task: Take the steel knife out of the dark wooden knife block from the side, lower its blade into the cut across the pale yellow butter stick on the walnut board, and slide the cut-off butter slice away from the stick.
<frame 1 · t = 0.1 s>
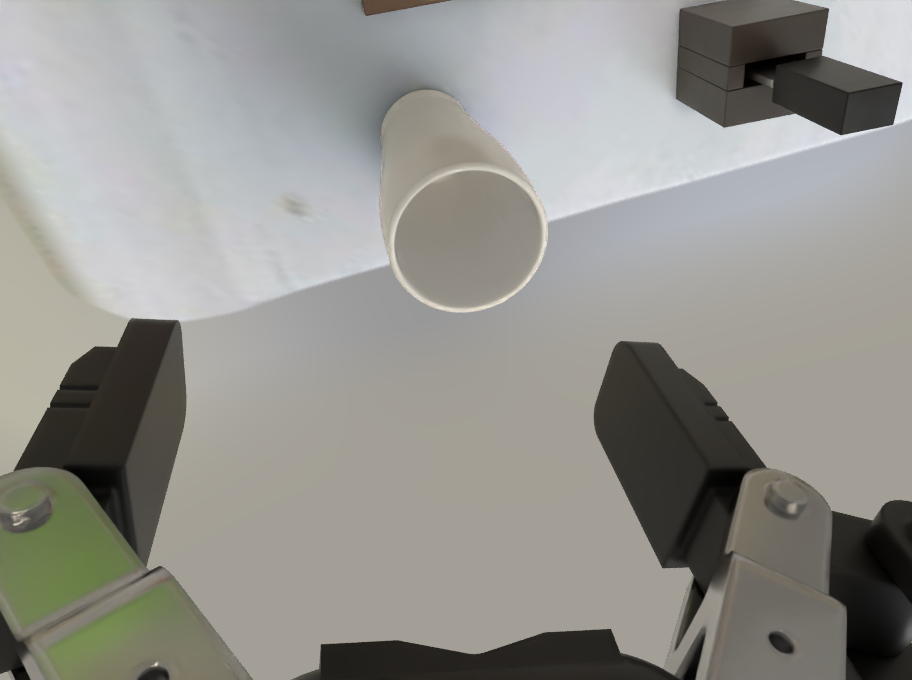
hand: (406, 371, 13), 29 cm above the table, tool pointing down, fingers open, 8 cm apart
knife block: (719, 47, 40), on the table
white tall tumbler: (425, 133, 40), on the table
knife: (719, 47, 40), resting in knife block
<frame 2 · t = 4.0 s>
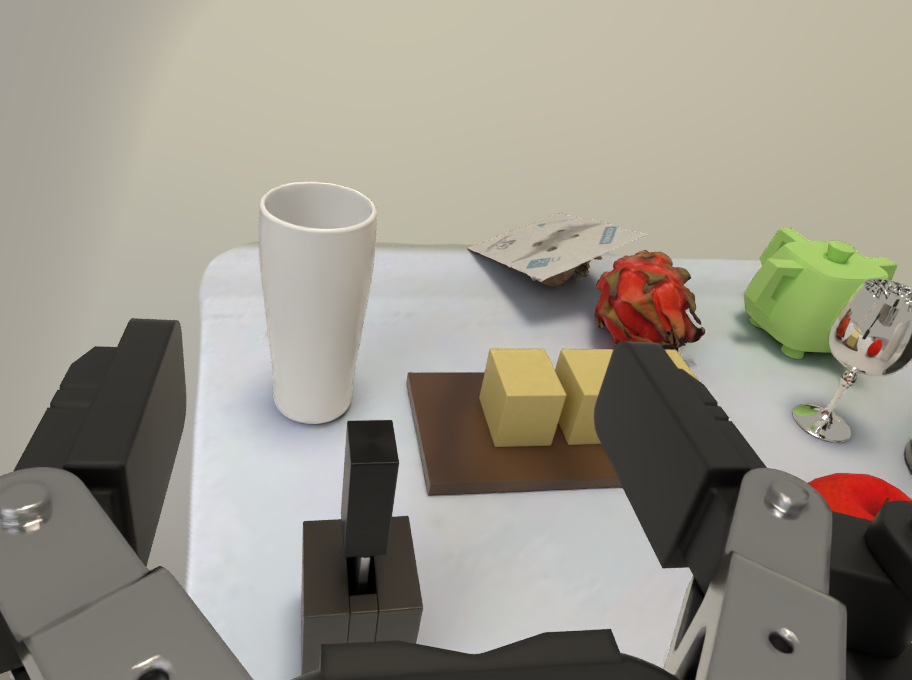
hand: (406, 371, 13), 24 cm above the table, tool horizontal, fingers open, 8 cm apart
knife block: (352, 637, 34), on the table
butter board: (553, 430, 49), on the table
white tall tumbler: (313, 404, 47), on the table
butter block: (615, 419, 49), point 1 cm above the table, touching butter board
teapot: (795, 338, 65), on the table
butter slice: (513, 421, 47), point 1 cm above the table, touching butter board
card: (573, 288, 66), on the table
knife: (352, 637, 34), resting in knife block
wineglass: (820, 424, 54), on the table
apple: (826, 585, 41), on the table
dragon fruit: (634, 343, 60), on the table
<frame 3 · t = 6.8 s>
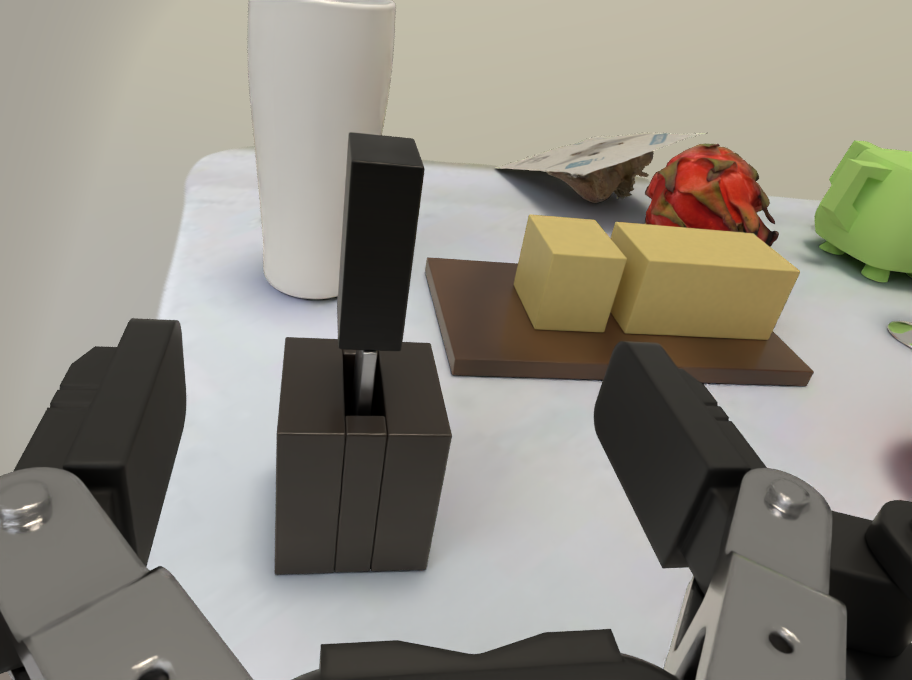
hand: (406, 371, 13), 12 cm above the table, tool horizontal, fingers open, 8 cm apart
knife block: (350, 515, 25), on the table
butter board: (604, 325, 40), on the table
white tall tumbler: (311, 283, 39), on the table
butter block: (679, 314, 40), point 1 cm above the table, touching butter board
teapot: (875, 266, 56), on the table
butter slice: (556, 308, 38), point 1 cm above the table, touching butter board
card: (616, 207, 58), on the table
knife: (350, 515, 25), resting in knife block
dragon fruit: (691, 256, 51), on the table
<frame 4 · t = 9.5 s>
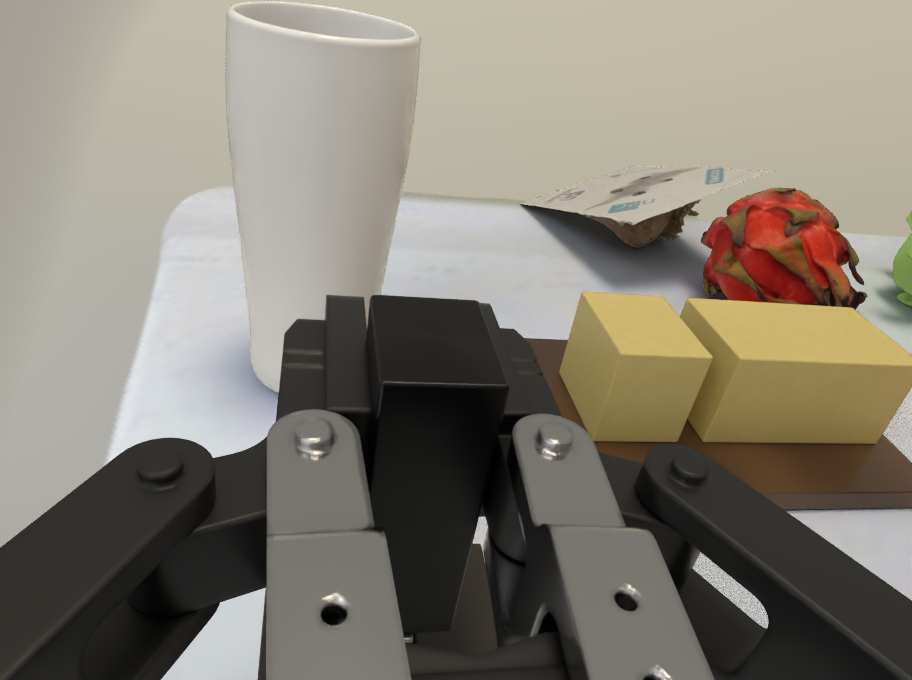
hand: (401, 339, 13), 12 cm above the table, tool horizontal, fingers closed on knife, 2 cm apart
butter board: (671, 423, 32), on the table
white tall tumbler: (310, 373, 31), on the table
butter block: (763, 409, 33), point 1 cm above the table, touching butter board
butter slice: (614, 405, 31), point 1 cm above the table, touching butter board
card: (662, 252, 50), on the table
dragon fruit: (757, 317, 43), on the table
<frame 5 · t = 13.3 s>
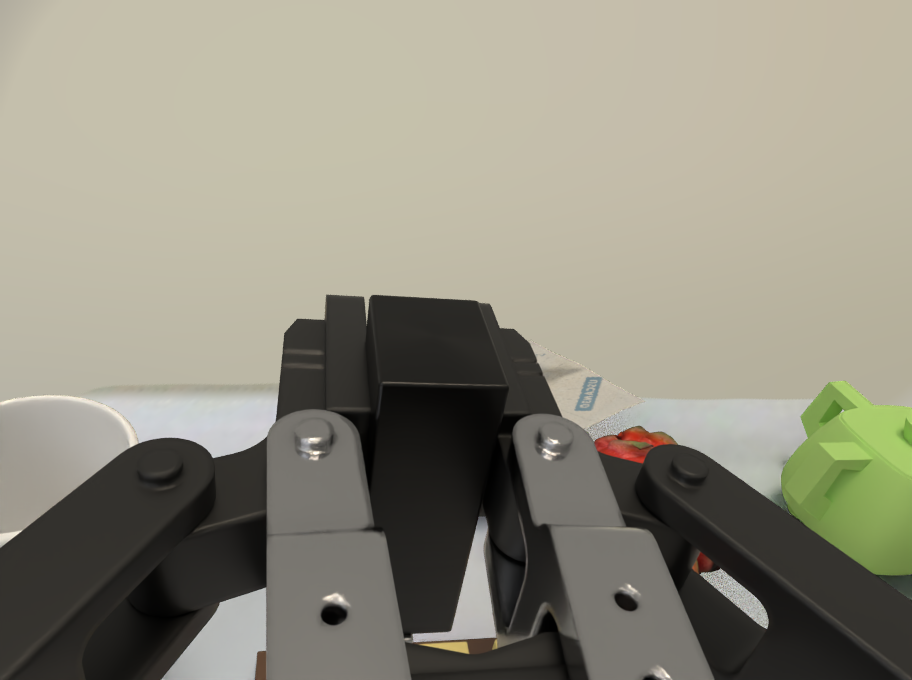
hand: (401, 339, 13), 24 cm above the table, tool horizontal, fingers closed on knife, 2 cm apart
teapot: (854, 538, 46), on the table
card: (543, 457, 48), on the table
dragon fruit: (624, 560, 41), on the table
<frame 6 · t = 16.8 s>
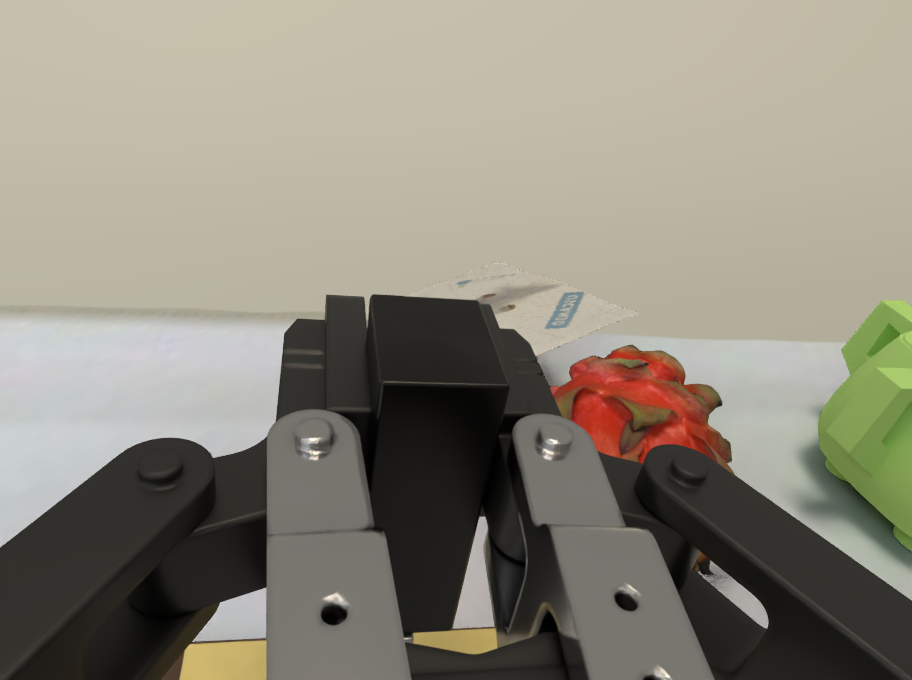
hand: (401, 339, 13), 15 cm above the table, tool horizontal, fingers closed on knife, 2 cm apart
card: (508, 399, 37), on the table
dragon fruit: (609, 527, 30), on the table
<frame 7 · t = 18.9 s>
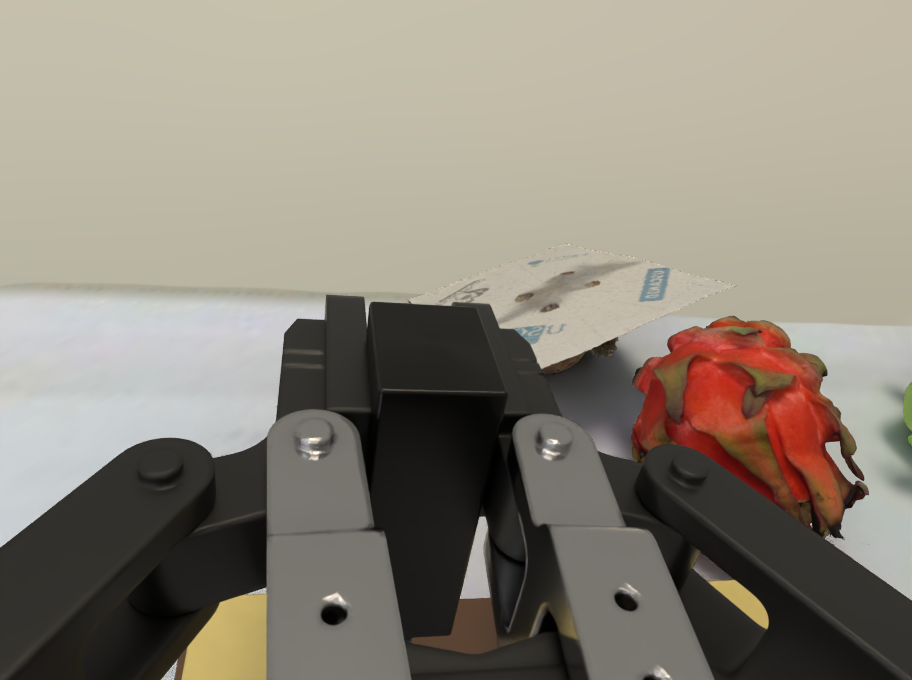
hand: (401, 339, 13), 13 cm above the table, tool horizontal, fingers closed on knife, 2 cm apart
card: (589, 377, 37), on the table
dragon fruit: (710, 499, 30), on the table
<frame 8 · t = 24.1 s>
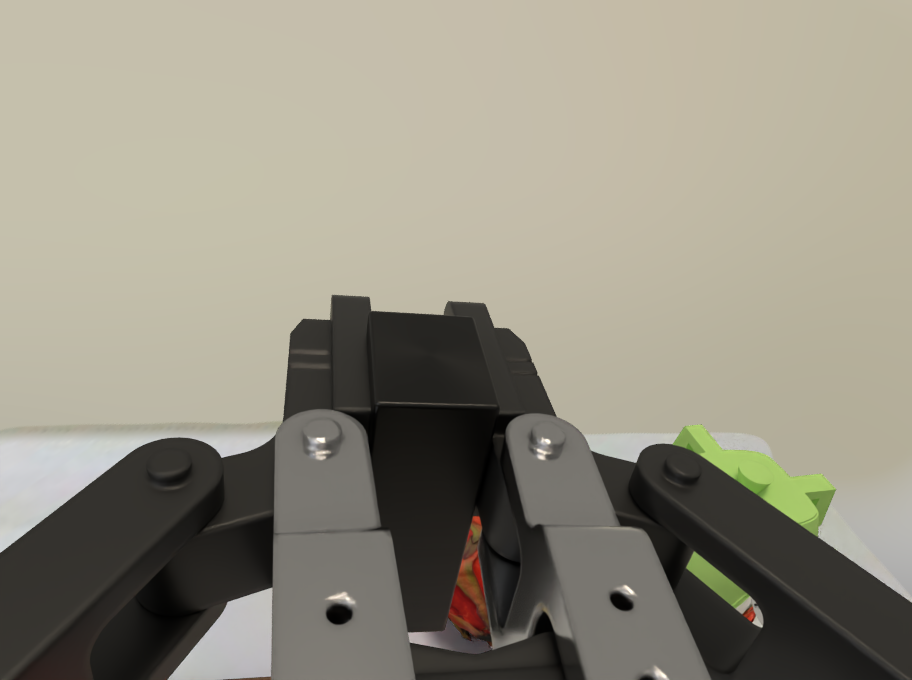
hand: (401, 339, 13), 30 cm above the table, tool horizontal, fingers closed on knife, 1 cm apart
teapot: (705, 573, 49), on the table
dragon fruit: (475, 596, 44), on the table
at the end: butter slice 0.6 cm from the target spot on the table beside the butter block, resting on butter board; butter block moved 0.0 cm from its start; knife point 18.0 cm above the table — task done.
